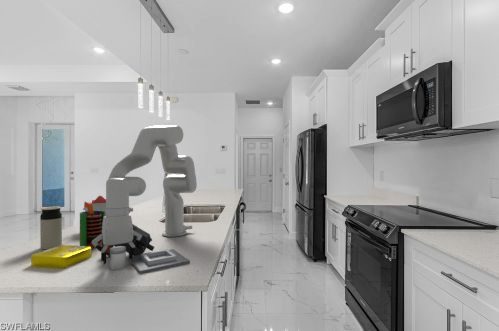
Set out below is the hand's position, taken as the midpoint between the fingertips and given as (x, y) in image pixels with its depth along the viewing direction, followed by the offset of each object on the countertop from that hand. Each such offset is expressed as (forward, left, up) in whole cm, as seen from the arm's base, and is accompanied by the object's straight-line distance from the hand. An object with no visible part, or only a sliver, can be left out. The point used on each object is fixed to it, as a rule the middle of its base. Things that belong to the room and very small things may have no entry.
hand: (117, 260), depth 103 cm
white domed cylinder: (0, 0, -3) cm, 3 cm away
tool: (-6, -12, -3) cm, 14 cm away
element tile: (+16, -20, -3) cm, 26 cm away
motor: (+5, -36, -3) cm, 36 cm away
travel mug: (+20, -45, -3) cm, 49 cm away
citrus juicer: (-2, -69, -3) cm, 69 cm away
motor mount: (-14, +2, -3) cm, 14 cm away
